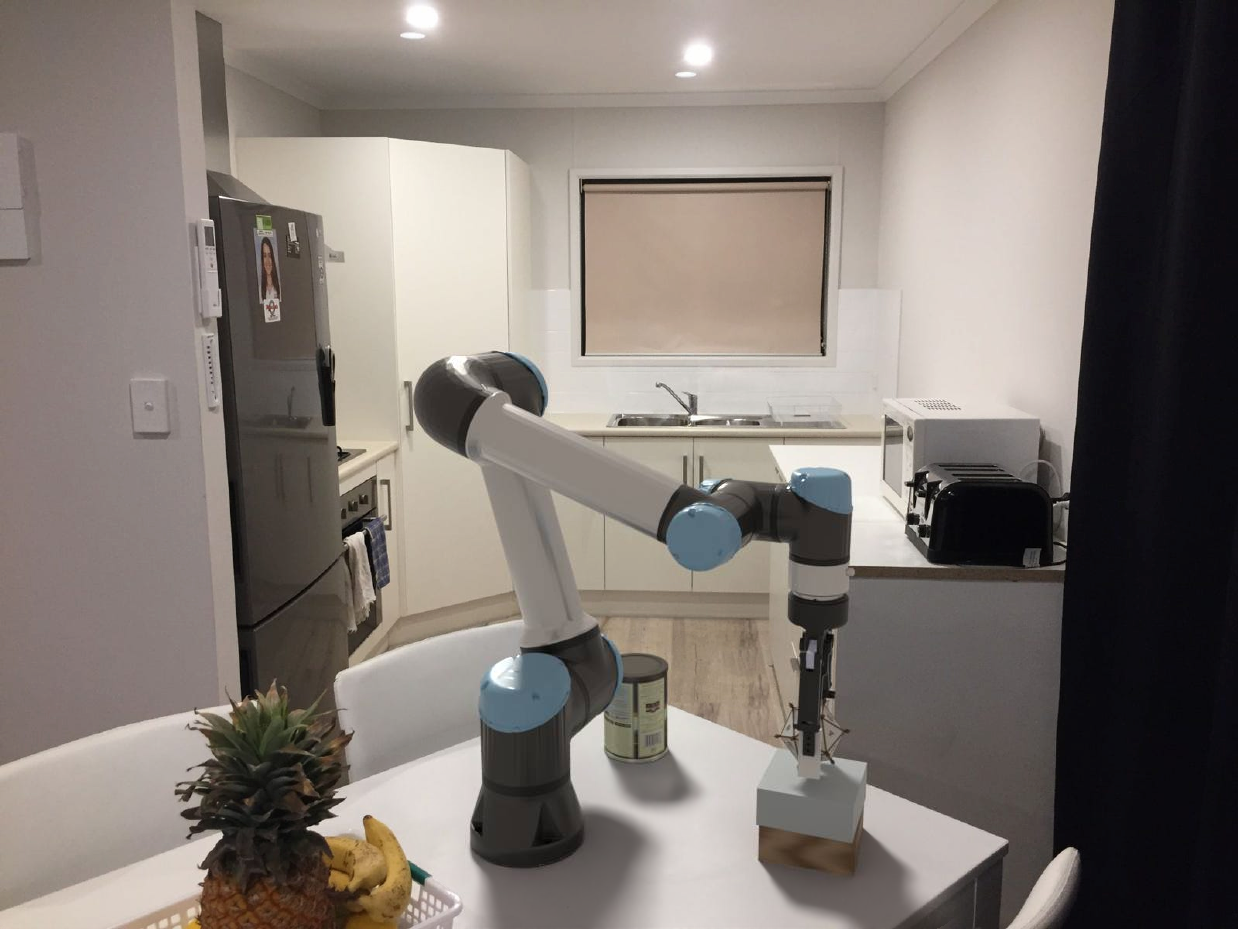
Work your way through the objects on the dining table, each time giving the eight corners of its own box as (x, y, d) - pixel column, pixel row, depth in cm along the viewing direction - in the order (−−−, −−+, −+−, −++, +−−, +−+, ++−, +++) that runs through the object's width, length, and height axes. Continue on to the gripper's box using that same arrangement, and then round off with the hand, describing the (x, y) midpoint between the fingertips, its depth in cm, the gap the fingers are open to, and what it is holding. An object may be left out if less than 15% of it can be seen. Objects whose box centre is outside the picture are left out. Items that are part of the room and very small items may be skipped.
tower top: (756, 824, 126) (756, 788, 126) (776, 782, 137) (777, 748, 137) (852, 843, 122) (853, 805, 121) (865, 797, 133) (867, 762, 132)
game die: (822, 795, 128) (847, 758, 121) (760, 766, 130) (782, 728, 123) (838, 739, 134) (864, 700, 127) (779, 711, 136) (801, 672, 129)
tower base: (758, 862, 127) (758, 826, 126) (774, 816, 138) (774, 782, 137) (854, 879, 123) (855, 842, 122) (862, 830, 135) (864, 796, 134)
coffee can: (624, 729, 165) (624, 648, 163) (679, 744, 160) (680, 660, 157) (590, 753, 156) (589, 668, 154) (646, 770, 151) (647, 681, 149)
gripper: (840, 620, 114) (833, 804, 118) (856, 572, 134) (850, 731, 138) (774, 614, 117) (770, 795, 120) (800, 567, 136) (796, 724, 140)
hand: (813, 761), depth 129 cm, fingers closed on game die, 8 cm apart
